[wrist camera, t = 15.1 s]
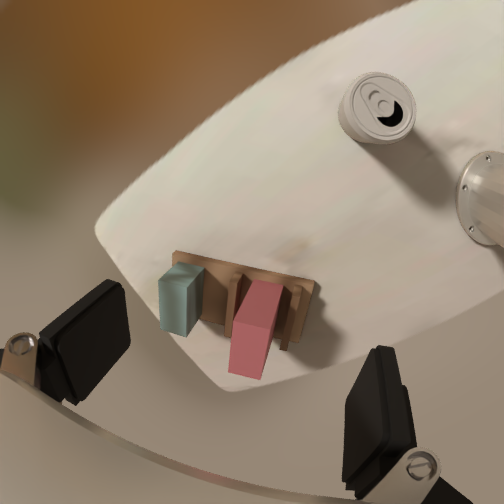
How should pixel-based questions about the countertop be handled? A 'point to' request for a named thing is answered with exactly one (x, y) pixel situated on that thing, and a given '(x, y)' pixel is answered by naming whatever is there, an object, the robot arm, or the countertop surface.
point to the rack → (225, 296)
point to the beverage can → (377, 109)
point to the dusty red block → (254, 329)
